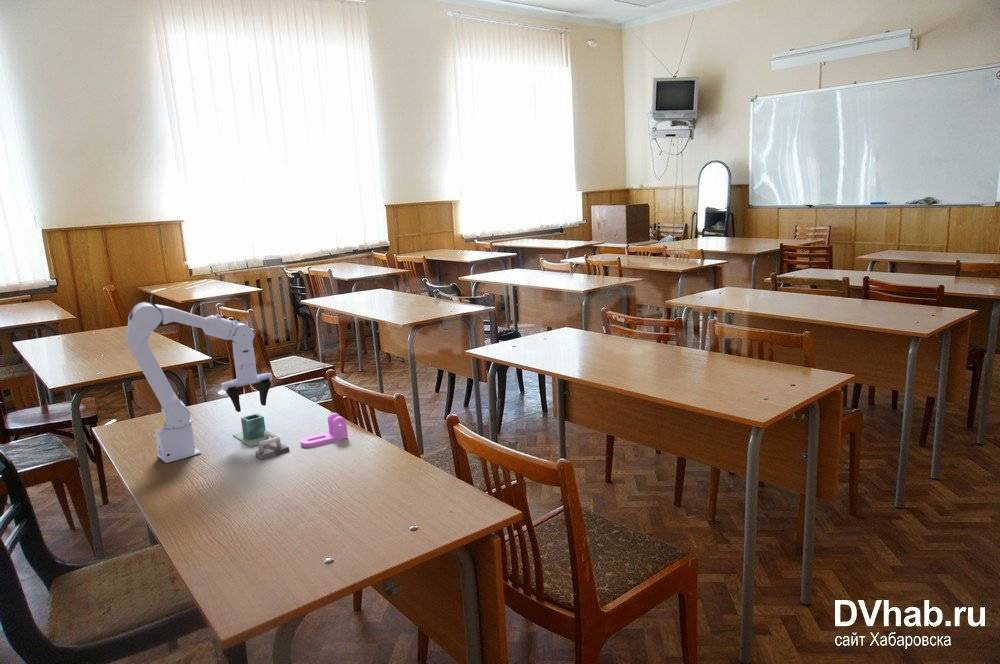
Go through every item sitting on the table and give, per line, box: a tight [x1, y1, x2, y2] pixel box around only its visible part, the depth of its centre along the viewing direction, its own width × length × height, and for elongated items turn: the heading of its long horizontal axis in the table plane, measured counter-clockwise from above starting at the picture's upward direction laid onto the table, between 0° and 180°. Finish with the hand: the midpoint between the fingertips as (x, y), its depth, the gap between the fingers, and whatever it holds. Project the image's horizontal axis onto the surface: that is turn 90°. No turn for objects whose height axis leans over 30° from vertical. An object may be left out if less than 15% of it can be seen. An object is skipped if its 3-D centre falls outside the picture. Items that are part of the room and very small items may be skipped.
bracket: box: [299, 412, 349, 448], centre depth 195 cm, size 13×6×7 cm, turn 123°
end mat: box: [232, 431, 271, 448], centre depth 201 cm, size 8×14×1 cm, turn 42°
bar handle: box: [255, 429, 290, 460], centre depth 190 cm, size 8×12×4 cm
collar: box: [240, 413, 266, 440], centre depth 200 cm, size 5×5×6 cm
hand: (251, 407), depth 199 cm, fingers open, 7 cm apart
